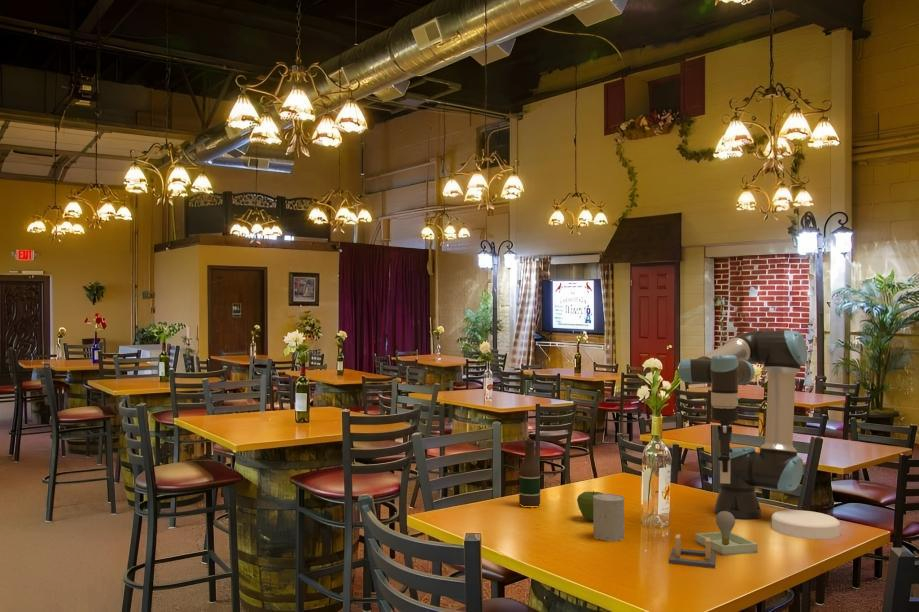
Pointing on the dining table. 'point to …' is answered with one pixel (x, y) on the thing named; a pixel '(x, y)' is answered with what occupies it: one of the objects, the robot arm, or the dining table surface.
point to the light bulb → (725, 525)
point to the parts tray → (734, 547)
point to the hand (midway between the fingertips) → (725, 478)
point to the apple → (587, 504)
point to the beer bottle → (529, 477)
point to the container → (805, 524)
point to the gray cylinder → (608, 517)
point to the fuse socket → (678, 552)
